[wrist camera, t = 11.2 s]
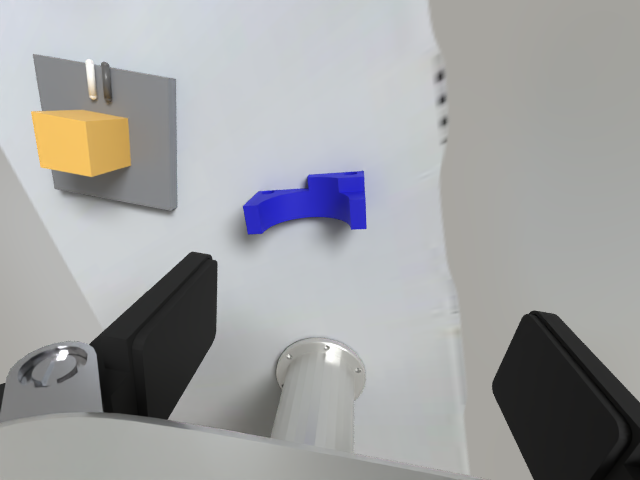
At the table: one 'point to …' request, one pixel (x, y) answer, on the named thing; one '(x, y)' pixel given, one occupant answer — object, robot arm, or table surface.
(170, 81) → the plate
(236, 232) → the table surface
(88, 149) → the mustard yellow cube
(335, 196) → the blue arch bracket
